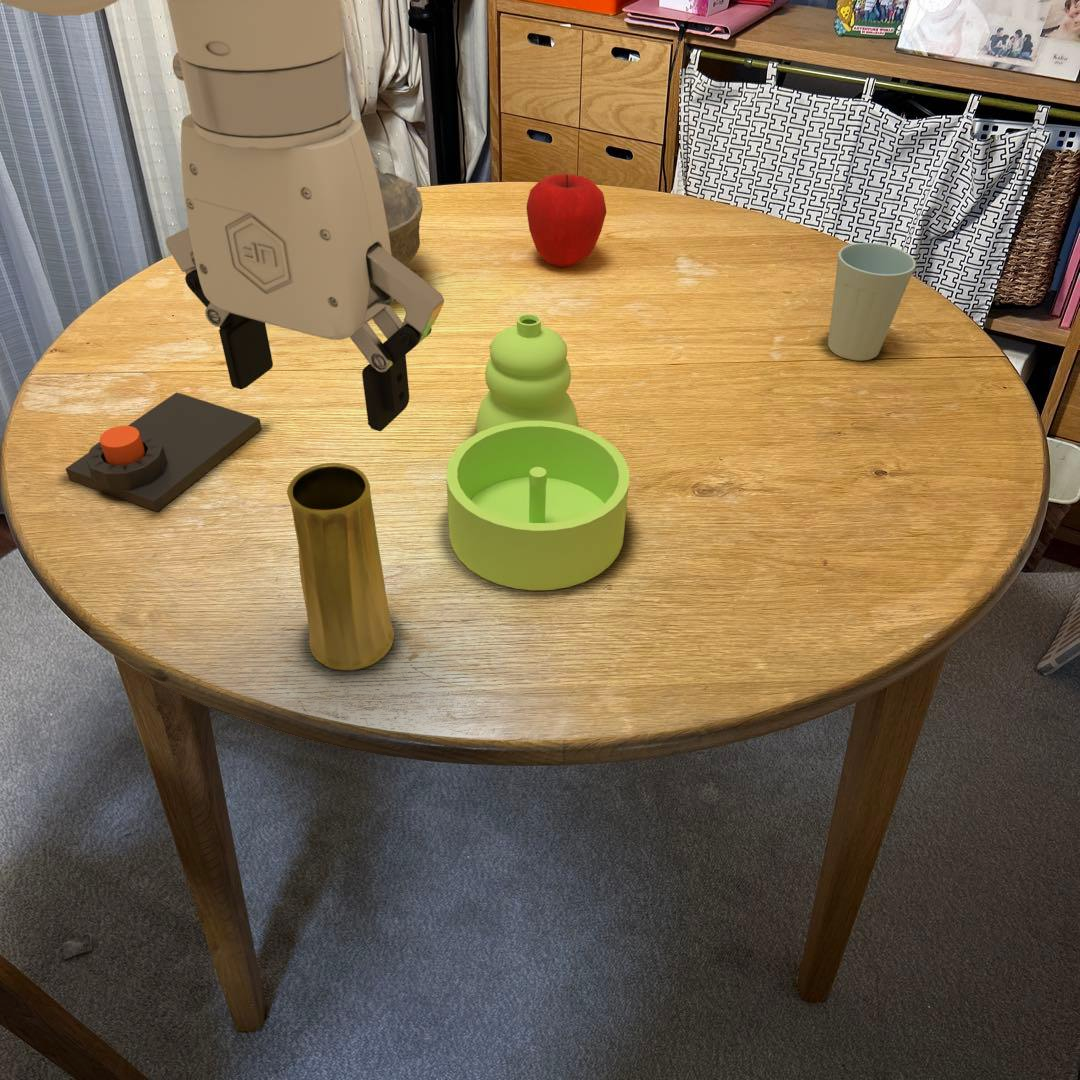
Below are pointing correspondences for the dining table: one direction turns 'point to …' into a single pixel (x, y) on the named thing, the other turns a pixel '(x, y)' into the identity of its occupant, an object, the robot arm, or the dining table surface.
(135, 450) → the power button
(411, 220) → the bowl
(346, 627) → the vase
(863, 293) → the cup
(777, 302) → the dining table surface
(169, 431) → the button base plate
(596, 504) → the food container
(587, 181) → the apple
